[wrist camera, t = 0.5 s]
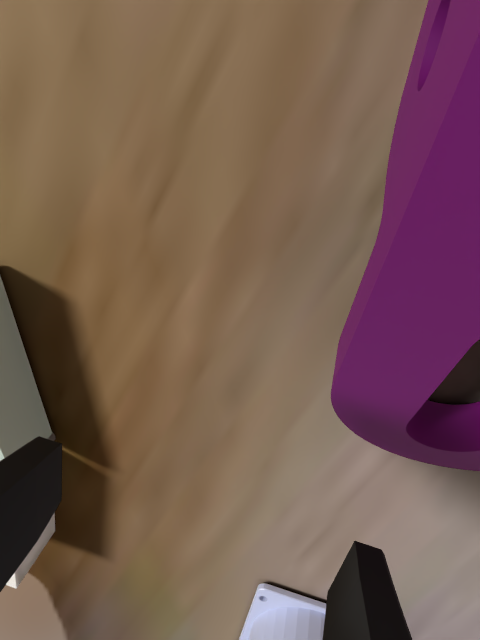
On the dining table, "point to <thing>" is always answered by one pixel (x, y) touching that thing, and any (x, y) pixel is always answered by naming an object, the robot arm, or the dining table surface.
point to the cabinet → (32, 554)
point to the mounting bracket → (422, 259)
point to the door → (17, 388)
